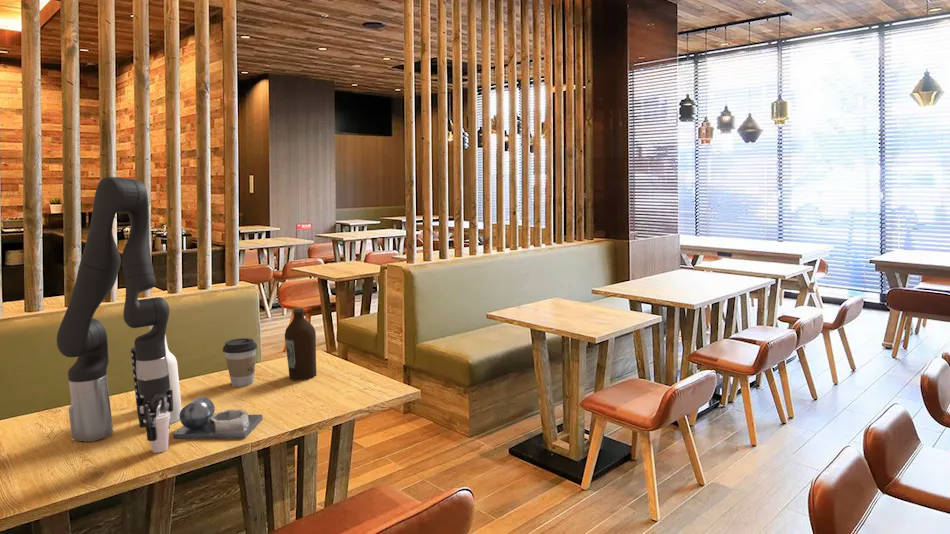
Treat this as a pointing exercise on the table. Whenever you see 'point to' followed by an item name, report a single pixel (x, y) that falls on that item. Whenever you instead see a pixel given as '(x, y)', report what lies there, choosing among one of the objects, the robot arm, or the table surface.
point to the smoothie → (161, 432)
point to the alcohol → (173, 384)
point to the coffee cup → (240, 360)
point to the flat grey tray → (214, 422)
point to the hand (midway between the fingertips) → (158, 435)
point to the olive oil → (301, 347)
